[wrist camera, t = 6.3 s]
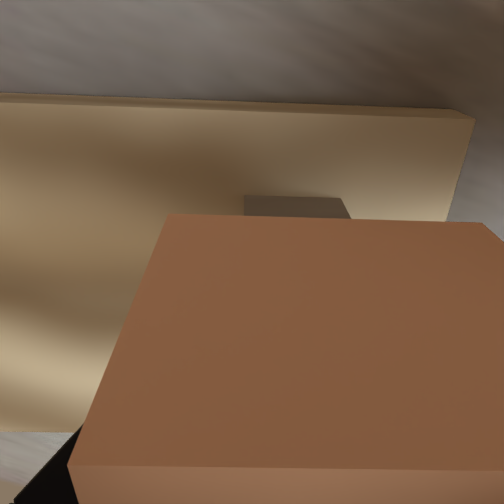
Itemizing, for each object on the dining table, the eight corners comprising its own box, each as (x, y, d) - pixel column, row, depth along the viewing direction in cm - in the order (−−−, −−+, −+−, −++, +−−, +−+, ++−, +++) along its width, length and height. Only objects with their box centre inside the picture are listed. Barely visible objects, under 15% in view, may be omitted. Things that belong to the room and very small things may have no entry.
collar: (168, 213, 8) (66, 465, 3) (481, 222, 8) (765, 474, 4) (183, 423, 11) (139, 698, 6) (410, 426, 11) (517, 699, 7)
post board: (-201, 84, 12) (-481, 128, 8) (453, 109, 13) (573, 163, 8) (-49, 402, 19) (-145, 528, 15) (372, 409, 20) (411, 533, 15)
